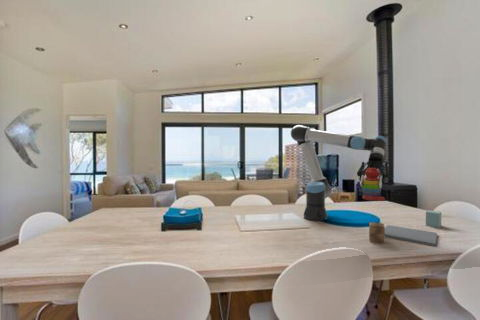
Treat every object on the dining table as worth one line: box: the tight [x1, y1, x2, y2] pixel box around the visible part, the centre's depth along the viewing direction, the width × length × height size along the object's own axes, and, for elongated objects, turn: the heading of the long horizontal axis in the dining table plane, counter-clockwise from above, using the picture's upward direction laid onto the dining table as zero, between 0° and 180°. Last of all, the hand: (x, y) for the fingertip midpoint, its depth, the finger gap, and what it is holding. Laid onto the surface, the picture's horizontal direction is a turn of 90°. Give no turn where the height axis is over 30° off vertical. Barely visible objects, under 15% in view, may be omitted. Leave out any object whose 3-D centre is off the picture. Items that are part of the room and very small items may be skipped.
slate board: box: [385, 224, 438, 247], centre depth 125 cm, size 22×20×1 cm
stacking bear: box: [361, 167, 386, 202], centre depth 136 cm, size 11×10×18 cm
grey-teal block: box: [425, 210, 442, 228], centre depth 142 cm, size 6×6×8 cm
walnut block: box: [368, 221, 386, 245], centre depth 117 cm, size 6×6×8 cm
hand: (370, 185), depth 134 cm, fingers closed on stacking bear, 9 cm apart
